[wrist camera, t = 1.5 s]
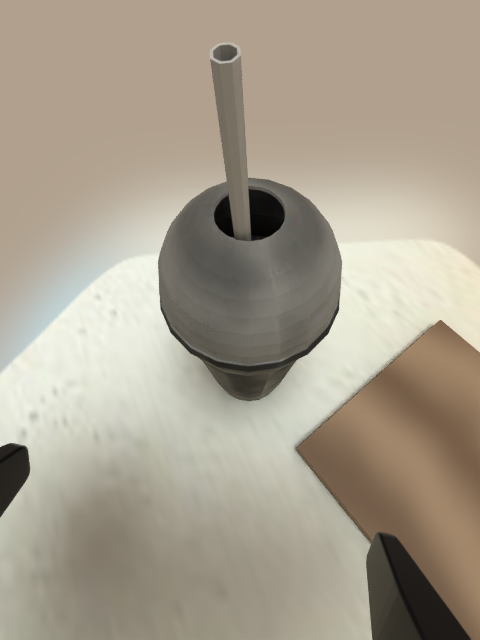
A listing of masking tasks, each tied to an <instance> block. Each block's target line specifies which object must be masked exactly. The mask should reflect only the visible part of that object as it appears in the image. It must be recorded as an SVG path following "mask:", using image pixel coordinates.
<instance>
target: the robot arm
mask: <svg viewBox="0 0 480 640" xmlns="http://www.w3.org/2000/svg"><path fill="white" fill-rule="evenodd" d="M29 473H30V463H29V454H28V449H27V447H26V446H24V445H19V444H15V443H9V444H6V445H4V446H2V447H0V517H1V516H2V514H3V513H4V511H5V510H6V509H7V507H8V506H9V504H10V503H11V501H12V500H13V499H14V497H15V496H16V494H17V493H18V492H19V490H20V489H21V487H22V486H23V484H24V483H25V482H26V480H27V478H28V476H29ZM366 568H367V580H368V592H369V604H370V616H371V628H372V639H373V640H472V639H471V638H470V636H469V635H468V634H467V632H466V631H465V629H464V628H463V627H462V625H461V624H460V623H459V621H458V620H457V619H456V617H455V616H454V614H453V613H452V612H451V610H450V609H449V608H448V606H447V605H446V603H445V602H444V601H443V599H442V598H441V597H440V595H439V594H438V593H437V591H436V590H435V588H434V587H433V586H432V584H431V583H430V582H429V580H428V579H427V577H426V576H425V575H424V573H423V572H422V571H421V569H420V568H419V567H418V565H417V564H416V562H415V561H414V560H413V558H412V557H411V556H410V554H409V553H408V551H407V550H406V549H405V547H404V546H403V545H402V543H401V542H400V541H399V539H398V538H397V537H396V536H394V535H392V534H388V533H384V532H377V533H376V534H375V536H374V538H373V541H372V543H371V546H370V549H369V551H368V554H367V560H366Z"/></svg>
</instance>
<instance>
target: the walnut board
mask: <svg viewBox="0 0 480 640" xmlns="http://www.w3.org/2000/svg"><path fill="white" fill-rule="evenodd" d="M296 450H297V452H298V453H299V454H300V455H301V457H302V458H303V459H304V460H305V462H306V463H307V464H308V465H309V466H310V468H311V469H312V470H313V471H314V473H315V474H316V475H317V476H318V478H319V479H320V480H321V481H322V483H323V484H324V485H325V486H326V488H327V489H328V490H329V491H330V493H331V494H332V495H333V496H334V498H335V499H336V500H337V501H338V502H339V504H340V505H341V506H342V507H343V509H344V510H345V511H346V512H347V514H348V515H349V516H350V517H351V519H352V520H353V521H354V522H355V524H356V525H357V526H358V527H359V529H360V530H361V531H362V532H363V534H364V535H365V536H366V537H367V538H368V540H369V541H370V542H371V543H372V541H373V538H374V536H375V534H376V533H377V532H384V533H388V534H392V535H394V536H396V537H397V538H398V539H399V541H400V542H401V543H402V545H403V546H404V547H405V549H406V550H407V551H408V553H409V554H410V556H411V557H412V558H413V560H414V561H415V562H416V564H417V565H418V567H419V568H420V569H421V571H422V572H423V573H424V575H425V576H426V577H427V579H428V580H429V582H430V583H431V584H432V586H433V587H434V588H435V590H436V591H437V593H438V594H439V595H440V597H441V598H442V599H443V601H444V602H445V603H446V605H447V606H448V608H449V609H450V610H451V612H452V613H453V614H454V616H455V617H456V619H457V620H458V621H459V623H460V624H461V625H462V627H463V628H464V629H465V631H466V632H467V634H468V635H469V636H470V638H471V639H472V640H480V352H478V351H477V350H476V349H475V348H474V347H472V346H471V345H470V344H469V343H468V342H466V341H465V340H464V339H463V338H462V337H460V336H459V335H458V334H457V333H456V332H454V331H453V330H452V329H451V328H450V327H449V326H447V325H446V324H445V323H444V322H443V321H441V320H440V321H438V322H437V323H436V324H435V325H434V326H432V327H431V328H430V329H429V330H428V331H427V332H426V333H425V334H423V335H422V336H421V337H420V338H419V339H418V340H417V341H416V342H414V343H413V344H412V345H411V346H410V347H409V348H408V349H407V350H406V351H404V352H403V353H402V354H401V355H400V356H399V357H398V358H397V359H395V360H394V361H393V362H392V363H391V364H390V365H389V366H388V367H386V368H385V369H384V370H383V371H382V372H381V373H380V374H379V375H378V376H376V377H375V378H374V379H373V380H372V381H371V382H370V383H369V384H367V385H366V386H365V387H364V388H363V389H362V390H361V391H360V392H358V393H357V394H356V395H355V396H354V397H353V398H352V399H351V400H350V401H348V402H347V403H346V404H345V405H344V406H343V407H342V408H341V409H339V410H338V411H337V412H336V413H335V414H334V415H333V416H332V417H330V418H329V419H328V420H327V421H326V422H325V423H324V424H323V425H322V426H320V427H319V428H318V429H317V430H316V431H315V432H314V433H313V434H311V435H310V436H309V437H308V438H307V439H306V440H305V441H304V442H302V443H301V444H300V445H299V446H298V447H297V448H296Z"/></svg>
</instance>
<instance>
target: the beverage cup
mask: <svg viewBox="0 0 480 640" xmlns="http://www.w3.org/2000/svg"><path fill="white" fill-rule="evenodd" d="M210 60H211V68H212V75H213V83H214V90H215V97H216V105H217V112H218V118H219V119H218V120H219V127H220V134H221V142H222V149H223V156H224V164H225V171H226V178H227V182H225V183H221V184H219V185H216V186H213V187H211V188H208V189H206V190H205V191H204V192H202V193H201V194H199V195H198V196H196V197H195V198H193V199H192V200H191V201H190V202H189V203H188V204H187V205H186V206H185V207H184V208H183V210H182V211H181V212H180V213H179V214H178V216H177V217H176V218H175V219H174V221H173V222H172V224H171V226H170V227H169V229H168V231H167V234H166V237H165V240H164V243H163V246H162V248H161V251H160V256H159V260H158V269H159V294H160V306H161V311H162V313H163V316H164V318H165V320H166V323H167V325H168V327H169V330H170V332H171V333H172V334H173V336H174V337H175V338H176V339H177V340H178V341H179V342H180V343H181V344H182V345H183V346H184V347H185V348H186V349H187V350H188V351H189V352H190V353H191V354H193V355H195V356H197V357H199V358H200V359H201V360H203V362H204V363H205V365H206V366H207V367H208V369H209V370H210V372H211V373H212V374H213V376H214V377H215V379H216V380H217V381H218V383H219V384H220V385H221V386H222V387H223V388H224V389H225V390H226V391H227V392H228V393H229V394H230V395H232V396H234V397H235V398H237V399H240V400H246V401H252V400H259V399H261V398H263V397H265V396H267V395H268V394H269V393H270V392H272V391H273V390H274V389H275V388H276V387H277V386H278V385H279V383H280V382H281V381H282V379H283V378H284V376H285V375H286V374H287V372H288V371H289V370H290V368H291V367H292V365H293V364H294V363H295V361H296V360H298V359H299V358H301V357H303V356H305V355H307V354H308V353H309V352H310V351H311V350H312V349H313V348H314V347H315V346H316V345H317V344H318V343H319V342H320V341H321V340H322V339H323V338H324V337H325V336H326V335H327V334H328V333H329V331H330V328H331V326H332V324H333V322H334V320H335V317H336V315H337V313H338V311H339V299H340V287H341V269H342V260H341V255H340V251H339V248H338V245H337V242H336V239H335V237H334V233H333V230H332V229H331V227H330V225H329V223H328V221H327V220H326V219H325V218H324V216H323V215H322V214H321V213H320V211H319V210H318V209H317V208H316V206H315V205H314V204H313V203H312V202H311V201H310V200H309V199H307V198H306V197H304V196H303V195H301V194H300V193H298V192H297V191H295V190H294V189H292V188H290V187H287V186H285V185H282V184H279V183H276V182H273V181H271V180H265V179H256V178H248V175H247V157H246V140H245V123H244V107H243V106H244V105H243V89H242V70H241V54H240V47H239V46H237V45H235V44H233V43H231V42H228V43H219V44H217V45H216V46H215V47H213V48H212V49H211V50H210Z"/></svg>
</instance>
